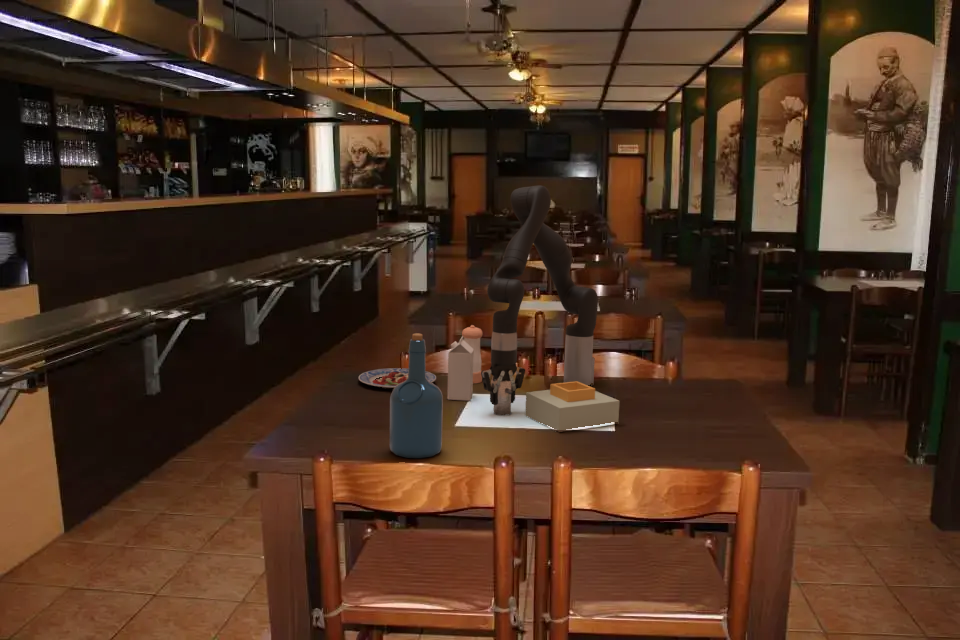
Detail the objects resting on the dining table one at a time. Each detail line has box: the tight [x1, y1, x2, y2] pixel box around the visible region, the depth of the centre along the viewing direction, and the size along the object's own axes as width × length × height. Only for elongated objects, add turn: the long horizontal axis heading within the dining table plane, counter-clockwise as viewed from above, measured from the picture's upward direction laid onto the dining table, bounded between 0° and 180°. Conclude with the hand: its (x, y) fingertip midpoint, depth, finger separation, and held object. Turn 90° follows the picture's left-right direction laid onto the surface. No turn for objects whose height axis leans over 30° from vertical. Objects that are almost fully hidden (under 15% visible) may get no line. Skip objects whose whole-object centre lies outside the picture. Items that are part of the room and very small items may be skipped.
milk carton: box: [447, 335, 474, 401], centre depth 259 cm, size 7×7×19 cm
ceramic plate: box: [358, 367, 437, 390], centre depth 277 cm, size 26×26×3 cm
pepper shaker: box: [461, 324, 484, 384], centre depth 281 cm, size 7×7×19 cm
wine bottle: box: [389, 332, 444, 459], centre depth 206 cm, size 14×13×30 cm
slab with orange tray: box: [524, 381, 620, 430], centre depth 239 cm, size 20×19×10 cm
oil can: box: [493, 380, 513, 416], centre depth 243 cm, size 7×5×10 cm
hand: (502, 403), depth 245 cm, fingers closed on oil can, 5 cm apart
